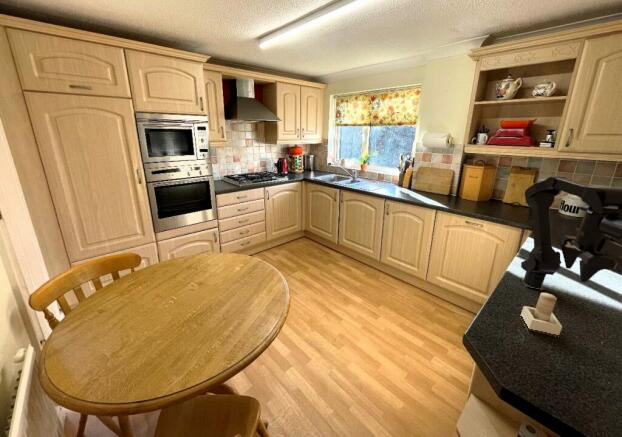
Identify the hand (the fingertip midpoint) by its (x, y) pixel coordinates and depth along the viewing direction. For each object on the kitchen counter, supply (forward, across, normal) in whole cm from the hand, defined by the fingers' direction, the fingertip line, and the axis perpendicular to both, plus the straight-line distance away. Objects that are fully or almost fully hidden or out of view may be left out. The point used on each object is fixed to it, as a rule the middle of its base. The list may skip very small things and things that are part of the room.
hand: (575, 274), depth 84 cm
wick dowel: (+12, -14, +11) cm, 22 cm away
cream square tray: (+13, -14, +11) cm, 22 cm away
